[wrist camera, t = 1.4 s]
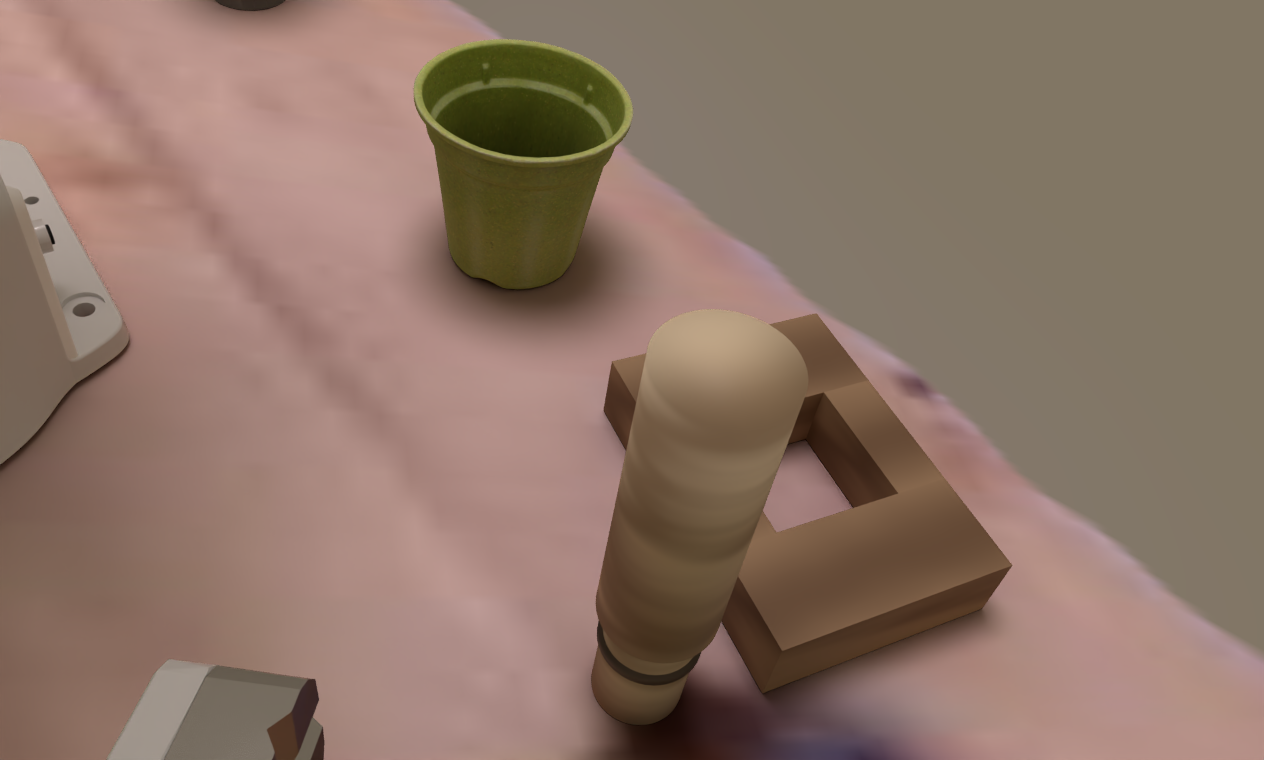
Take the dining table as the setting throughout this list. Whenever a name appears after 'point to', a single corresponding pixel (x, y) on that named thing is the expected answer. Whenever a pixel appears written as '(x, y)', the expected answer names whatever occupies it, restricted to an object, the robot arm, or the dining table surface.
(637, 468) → the peg
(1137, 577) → the dining table surface
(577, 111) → the plant pot
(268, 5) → the beverage cup
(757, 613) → the brown wooden frame
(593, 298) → the dining table surface
